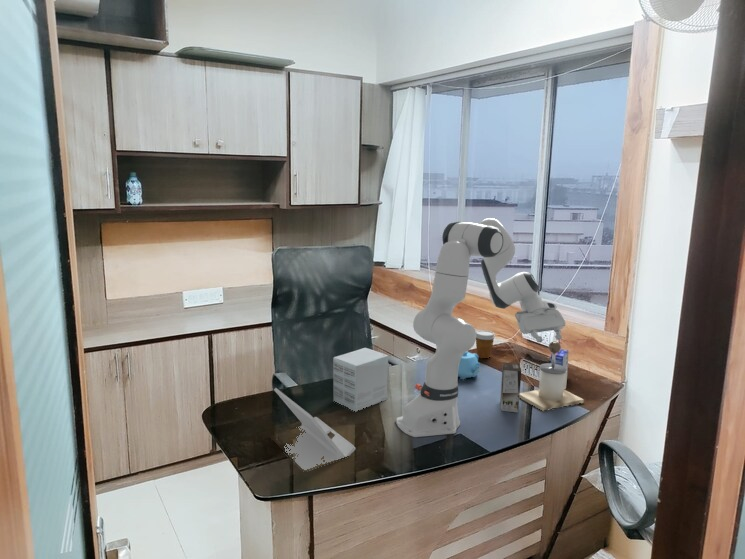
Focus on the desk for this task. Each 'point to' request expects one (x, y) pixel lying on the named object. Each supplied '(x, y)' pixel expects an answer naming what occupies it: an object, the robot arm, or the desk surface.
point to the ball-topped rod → (554, 351)
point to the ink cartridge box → (561, 358)
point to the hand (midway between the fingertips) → (550, 340)
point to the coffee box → (510, 387)
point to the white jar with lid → (552, 382)
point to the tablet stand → (315, 439)
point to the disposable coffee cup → (484, 343)
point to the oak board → (544, 404)
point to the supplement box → (360, 378)
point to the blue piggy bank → (468, 365)
